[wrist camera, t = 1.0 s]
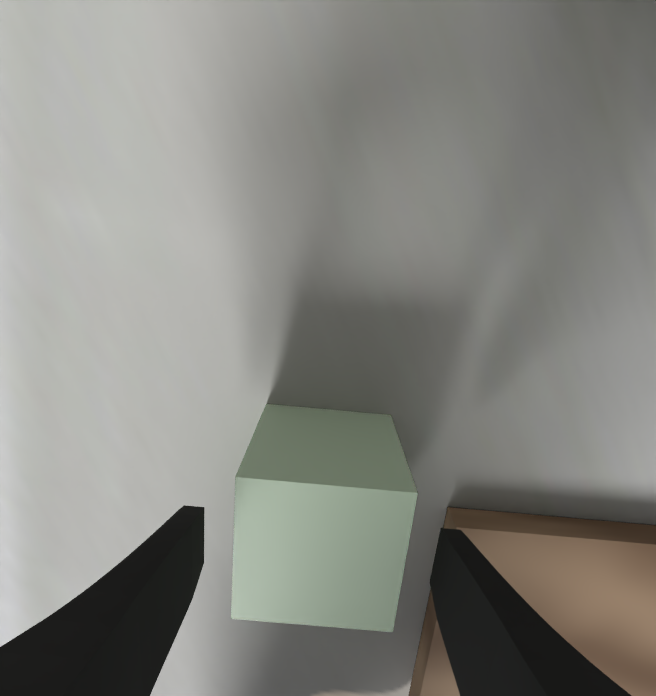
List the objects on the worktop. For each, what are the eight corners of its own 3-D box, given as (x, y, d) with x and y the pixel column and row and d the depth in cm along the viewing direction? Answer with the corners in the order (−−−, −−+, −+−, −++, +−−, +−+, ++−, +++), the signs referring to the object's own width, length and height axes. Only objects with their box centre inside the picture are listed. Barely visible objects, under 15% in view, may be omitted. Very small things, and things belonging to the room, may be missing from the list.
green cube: (375, 518, 16) (392, 632, 12) (261, 508, 16) (230, 619, 11) (390, 414, 15) (417, 493, 10) (266, 403, 15) (235, 476, 10)
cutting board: (612, 737, 20) (629, 767, 18) (403, 719, 19) (408, 750, 18) (699, 529, 16) (727, 550, 15) (447, 507, 16) (456, 527, 15)
